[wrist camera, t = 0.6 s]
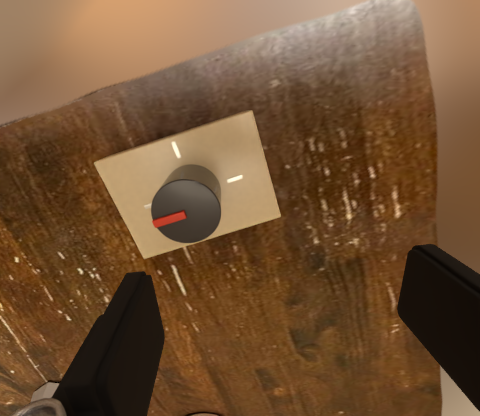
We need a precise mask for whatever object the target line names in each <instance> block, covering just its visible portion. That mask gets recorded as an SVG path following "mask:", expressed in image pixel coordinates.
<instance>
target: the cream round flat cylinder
mask: <svg viewBox="0 0 480 416" xmlns="http://www.w3.org/2000/svg"><path fill="white" fill-rule="evenodd" d="M190 416H218V415H215V414H209V413H200V414H194V415H190Z"/></svg>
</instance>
